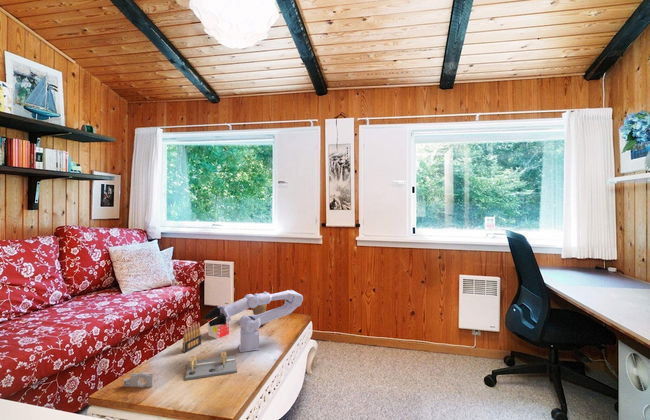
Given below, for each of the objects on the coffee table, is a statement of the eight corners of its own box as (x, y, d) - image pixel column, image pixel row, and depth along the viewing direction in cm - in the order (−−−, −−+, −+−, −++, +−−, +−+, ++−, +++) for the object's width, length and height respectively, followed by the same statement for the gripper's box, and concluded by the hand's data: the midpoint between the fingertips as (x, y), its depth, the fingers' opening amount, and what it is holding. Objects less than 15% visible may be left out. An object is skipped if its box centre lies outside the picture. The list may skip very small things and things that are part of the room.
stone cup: (255, 316, 207) (255, 294, 207) (272, 318, 205) (272, 295, 204) (244, 325, 192) (244, 301, 192) (263, 327, 190) (263, 303, 189)
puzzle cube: (208, 335, 178) (208, 321, 178) (219, 330, 185) (219, 317, 185) (217, 339, 174) (217, 324, 174) (229, 334, 181) (229, 320, 180)
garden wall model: (122, 387, 129) (122, 373, 129) (125, 384, 131) (125, 370, 130) (152, 387, 129) (152, 373, 129) (155, 385, 131) (155, 370, 131)
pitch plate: (235, 357, 154) (235, 347, 154) (236, 372, 141) (237, 362, 141) (188, 363, 148) (188, 353, 148) (185, 380, 134) (185, 369, 134)
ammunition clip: (185, 353, 158) (185, 329, 157) (182, 352, 158) (182, 328, 158) (201, 344, 168) (201, 321, 167) (198, 343, 168) (198, 321, 168)
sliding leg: (226, 358, 150) (226, 351, 150) (226, 367, 142) (226, 359, 142) (220, 359, 149) (220, 352, 149) (221, 368, 142) (221, 360, 141)
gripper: (227, 296, 164) (201, 307, 157) (237, 307, 153) (209, 320, 146) (231, 308, 166) (205, 320, 159) (240, 319, 154) (213, 333, 147)
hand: (207, 321), depth 153 cm, fingers open, 7 cm apart
